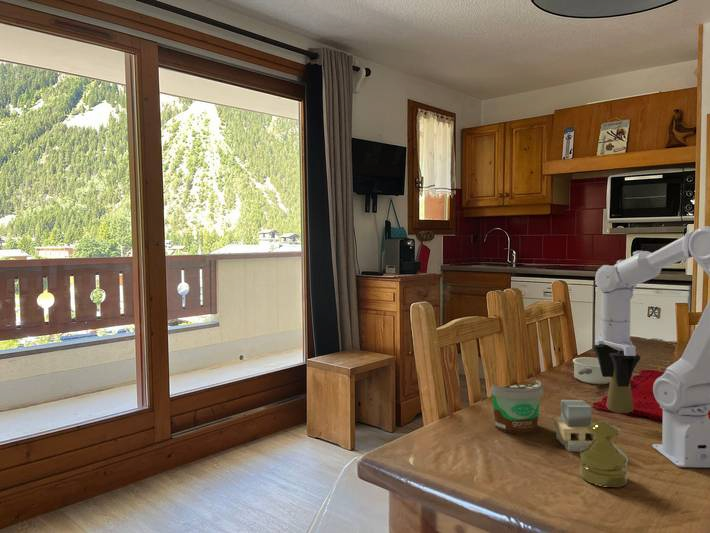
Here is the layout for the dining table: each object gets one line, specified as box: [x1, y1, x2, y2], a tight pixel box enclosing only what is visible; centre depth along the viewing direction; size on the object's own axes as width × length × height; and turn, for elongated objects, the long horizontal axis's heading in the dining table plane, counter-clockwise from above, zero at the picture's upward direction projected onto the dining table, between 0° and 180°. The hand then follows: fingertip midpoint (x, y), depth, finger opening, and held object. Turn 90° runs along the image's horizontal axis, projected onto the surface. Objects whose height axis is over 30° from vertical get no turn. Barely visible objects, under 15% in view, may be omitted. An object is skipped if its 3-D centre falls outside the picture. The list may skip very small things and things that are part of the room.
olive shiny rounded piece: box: [579, 420, 629, 488], centre depth 88 cm, size 7×7×10 cm
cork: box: [605, 369, 635, 414], centre depth 124 cm, size 6×6×11 cm
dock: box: [555, 431, 593, 452], centre depth 104 cm, size 7×6×2 cm
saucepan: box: [572, 357, 611, 385], centre depth 146 cm, size 12×20×6 cm, turn 142°
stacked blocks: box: [551, 399, 595, 441], centre depth 103 cm, size 7×7×6 cm
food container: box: [489, 379, 545, 435], centre depth 111 cm, size 12×6×10 cm, turn 105°
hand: (614, 381), depth 113 cm, fingers open, 7 cm apart
